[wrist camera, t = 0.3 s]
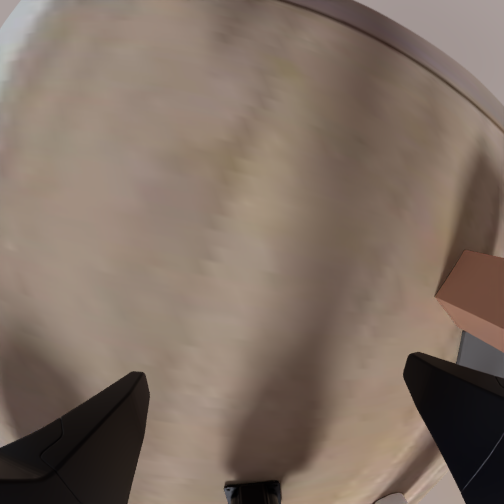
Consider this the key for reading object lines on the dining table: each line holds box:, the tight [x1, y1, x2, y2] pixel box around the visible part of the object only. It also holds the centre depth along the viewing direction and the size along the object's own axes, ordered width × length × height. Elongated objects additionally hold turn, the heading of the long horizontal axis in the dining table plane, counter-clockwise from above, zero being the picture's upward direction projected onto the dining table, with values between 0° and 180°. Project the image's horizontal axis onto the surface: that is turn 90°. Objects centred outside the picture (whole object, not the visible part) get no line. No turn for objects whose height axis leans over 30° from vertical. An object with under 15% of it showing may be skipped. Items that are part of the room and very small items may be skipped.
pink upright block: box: [435, 250, 504, 353], centre depth 20 cm, size 6×6×10 cm
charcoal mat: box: [456, 331, 504, 378], centre depth 27 cm, size 16×16×1 cm
